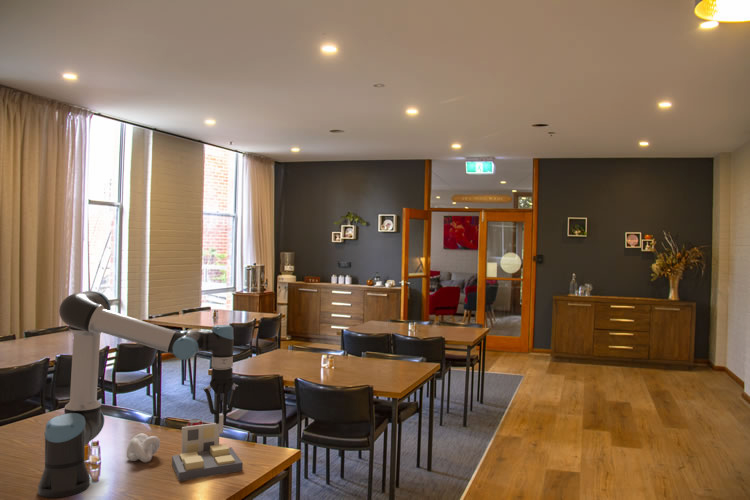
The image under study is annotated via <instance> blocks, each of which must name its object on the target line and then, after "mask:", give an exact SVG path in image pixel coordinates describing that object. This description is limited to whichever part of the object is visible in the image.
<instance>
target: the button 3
mask: <svg viewBox="0 0 750 500" xmlns="http://www.w3.org/2000/svg"><path fill="white" fill-rule="evenodd" d="M229 448H230V447H229V446H228V445H227V443H219V445H213V446H210V454H211V456H212V457H217V456H224V455H229Z"/></svg>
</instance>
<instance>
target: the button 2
mask: <svg viewBox="0 0 750 500" xmlns="http://www.w3.org/2000/svg"><path fill="white" fill-rule="evenodd" d="M183 467H184V469H185V470H191V469H197V468H204V461H203V459H202V457H201V456H194V457H187V458H183Z"/></svg>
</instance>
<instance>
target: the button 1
mask: <svg viewBox="0 0 750 500" xmlns="http://www.w3.org/2000/svg"><path fill="white" fill-rule="evenodd" d="M179 455H180V460H181V462H183V458H187V457H194V456H198V454H197V452H190V453H183V454H182V453H180V454H179Z"/></svg>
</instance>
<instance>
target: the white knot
mask: <svg viewBox="0 0 750 500" xmlns="http://www.w3.org/2000/svg"><path fill="white" fill-rule="evenodd" d="M160 446H161V440H160V438H159V437H158V436H156V435H155V436H154V435H151V436H148V435H147V434H146V433H141V432H140V433H138V434H136V435H134V436H133V438H132V439H131V440H130V441H129V444H128V446H127V450H126V458H127V459H128V461H130V462H136V461H138V460H140V461H141V462H143V463H148V462H151V460H152V459H153V455H155V454H156V453H157V452H158V450H159V449H160Z"/></svg>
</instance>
